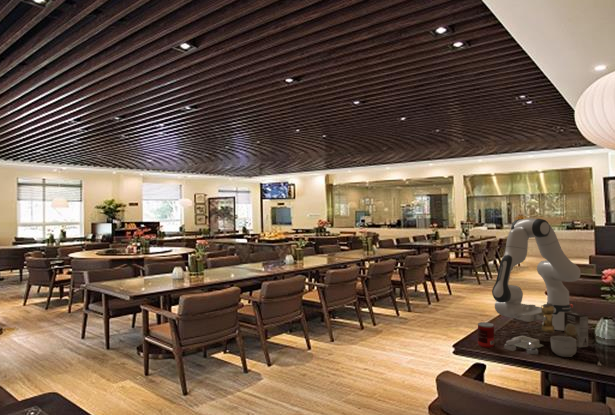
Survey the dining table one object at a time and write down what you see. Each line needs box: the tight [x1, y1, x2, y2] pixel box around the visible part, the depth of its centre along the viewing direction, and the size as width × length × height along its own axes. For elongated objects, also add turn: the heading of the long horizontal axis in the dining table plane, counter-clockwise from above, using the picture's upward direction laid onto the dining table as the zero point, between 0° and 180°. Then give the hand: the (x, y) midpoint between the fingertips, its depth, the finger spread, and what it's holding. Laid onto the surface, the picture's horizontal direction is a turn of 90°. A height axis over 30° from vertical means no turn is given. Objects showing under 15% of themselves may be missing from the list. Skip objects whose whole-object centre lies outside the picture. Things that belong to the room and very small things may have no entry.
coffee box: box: [563, 310, 589, 348], centre depth 219 cm, size 9×6×16 cm
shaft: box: [525, 340, 539, 356], centre depth 209 cm, size 9×4×4 cm, turn 166°
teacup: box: [549, 335, 578, 358], centre depth 204 cm, size 14×11×8 cm
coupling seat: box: [503, 335, 545, 352], centre depth 216 cm, size 20×12×4 cm, turn 121°
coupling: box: [540, 303, 555, 334], centre depth 220 cm, size 6×6×14 cm
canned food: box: [477, 321, 495, 349], centre depth 218 cm, size 8×8×11 cm
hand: (549, 317), depth 219 cm, fingers closed on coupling, 4 cm apart
